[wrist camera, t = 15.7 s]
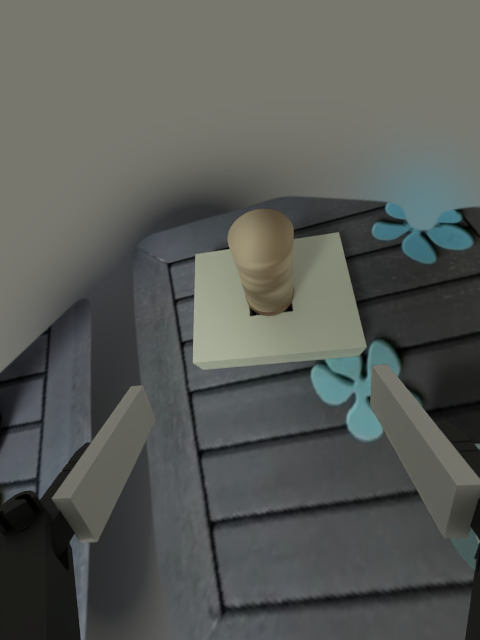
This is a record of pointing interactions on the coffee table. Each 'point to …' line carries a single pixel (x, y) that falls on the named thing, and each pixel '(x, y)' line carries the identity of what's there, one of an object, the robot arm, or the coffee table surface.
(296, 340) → the sage board
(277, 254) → the tan wooden cylinder
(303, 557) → the coffee table surface
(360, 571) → the coffee table surface
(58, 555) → the robot arm
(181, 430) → the coffee table surface
